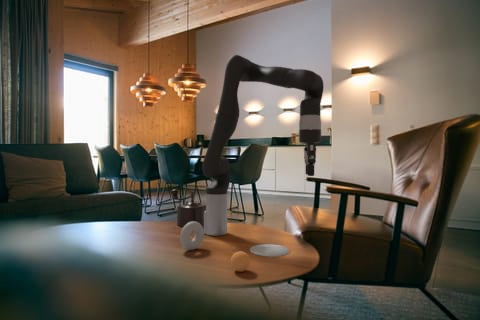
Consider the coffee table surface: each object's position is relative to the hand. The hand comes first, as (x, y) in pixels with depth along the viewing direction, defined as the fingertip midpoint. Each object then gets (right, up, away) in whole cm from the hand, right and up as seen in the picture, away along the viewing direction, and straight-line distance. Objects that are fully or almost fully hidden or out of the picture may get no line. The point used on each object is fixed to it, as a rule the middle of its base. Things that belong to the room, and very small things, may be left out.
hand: (309, 175), depth 108 cm
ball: (-24, -24, -20) cm, 40 cm away
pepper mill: (-50, -27, +40) cm, 69 cm away
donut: (-41, -27, 0) cm, 49 cm away
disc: (-14, -26, 0) cm, 30 cm away
